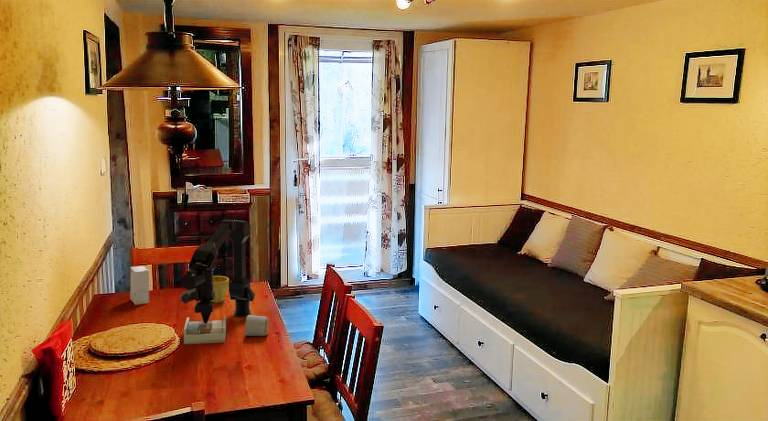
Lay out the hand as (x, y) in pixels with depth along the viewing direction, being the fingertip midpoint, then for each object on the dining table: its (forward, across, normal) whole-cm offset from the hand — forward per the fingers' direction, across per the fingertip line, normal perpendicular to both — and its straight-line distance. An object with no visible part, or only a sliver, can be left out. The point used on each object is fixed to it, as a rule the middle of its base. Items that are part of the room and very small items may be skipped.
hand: (205, 323), depth 221 cm
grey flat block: (+3, 0, -4) cm, 5 cm away
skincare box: (+6, -44, -30) cm, 54 cm away
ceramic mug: (+6, -1, +19) cm, 20 cm away
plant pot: (+6, -43, +2) cm, 43 cm away
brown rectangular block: (+3, 0, 0) cm, 3 cm away
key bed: (+5, 0, 0) cm, 5 cm away
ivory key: (+3, 0, +4) cm, 5 cm away
